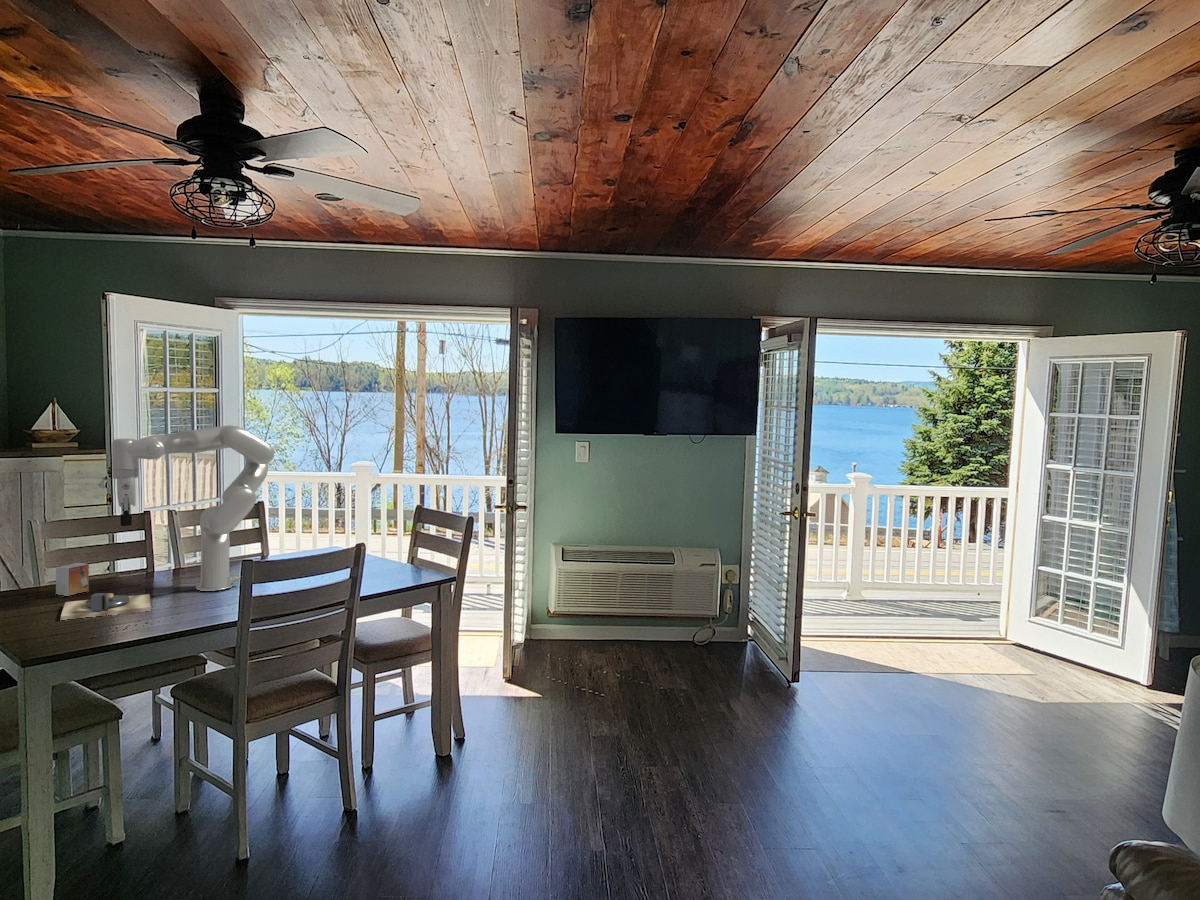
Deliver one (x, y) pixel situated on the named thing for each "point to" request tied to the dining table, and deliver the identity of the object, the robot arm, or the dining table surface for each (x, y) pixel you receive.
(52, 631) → the dining table surface
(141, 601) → the post board
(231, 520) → the robot arm
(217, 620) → the dining table surface
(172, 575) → the dining table surface
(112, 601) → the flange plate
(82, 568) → the small box
